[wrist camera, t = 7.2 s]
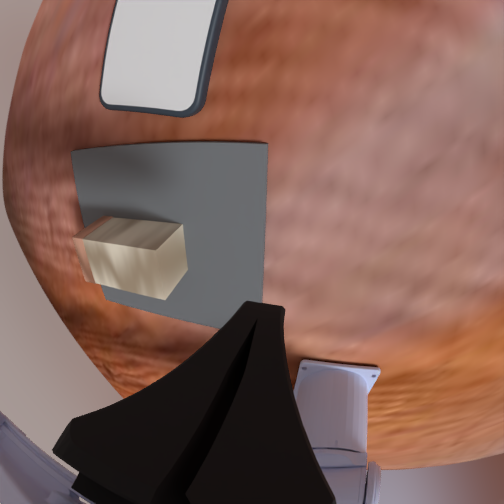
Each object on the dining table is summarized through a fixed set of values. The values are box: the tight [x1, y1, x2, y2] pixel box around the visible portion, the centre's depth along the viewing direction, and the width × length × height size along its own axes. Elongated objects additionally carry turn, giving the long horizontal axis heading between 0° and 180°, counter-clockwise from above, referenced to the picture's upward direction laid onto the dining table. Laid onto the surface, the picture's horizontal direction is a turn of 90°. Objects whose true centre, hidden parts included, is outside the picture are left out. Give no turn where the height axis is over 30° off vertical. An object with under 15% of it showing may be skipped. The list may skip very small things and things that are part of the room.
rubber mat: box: [71, 141, 268, 329], centre depth 22 cm, size 16×17×1 cm
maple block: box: [72, 216, 188, 300], centre depth 21 cm, size 4×4×8 cm
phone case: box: [99, 0, 228, 118], centre depth 13 cm, size 9×2×16 cm
